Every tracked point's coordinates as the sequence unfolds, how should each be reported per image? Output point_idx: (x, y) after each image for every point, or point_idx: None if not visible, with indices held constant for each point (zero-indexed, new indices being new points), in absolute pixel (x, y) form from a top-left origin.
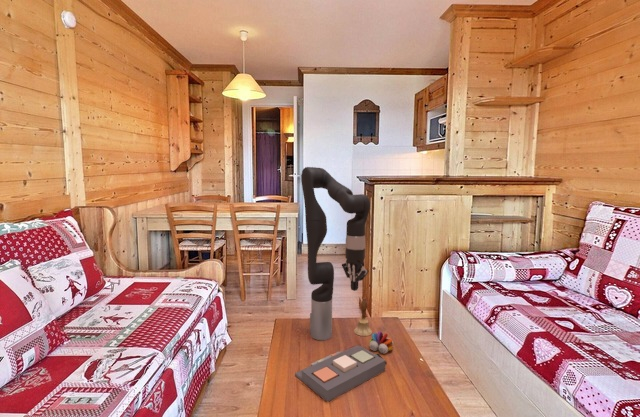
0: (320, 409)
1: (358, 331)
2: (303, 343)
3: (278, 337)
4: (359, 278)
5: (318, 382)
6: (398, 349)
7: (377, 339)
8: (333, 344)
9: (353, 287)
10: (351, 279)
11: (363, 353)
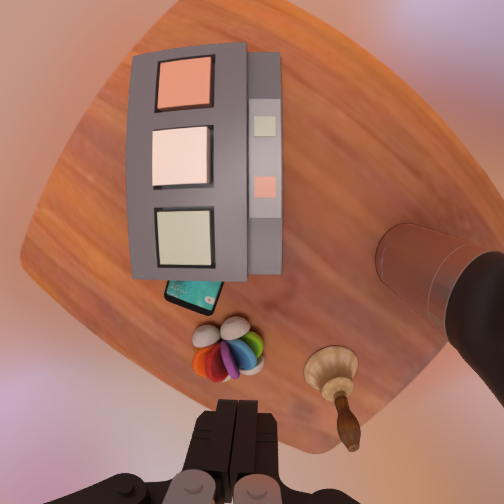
0: (139, 46)
1: (333, 355)
2: (405, 179)
3: (464, 149)
4: (78, 497)
5: (170, 51)
6: None
7: (224, 346)
8: (343, 250)
9: (217, 418)
10: (243, 488)
11: (192, 252)
